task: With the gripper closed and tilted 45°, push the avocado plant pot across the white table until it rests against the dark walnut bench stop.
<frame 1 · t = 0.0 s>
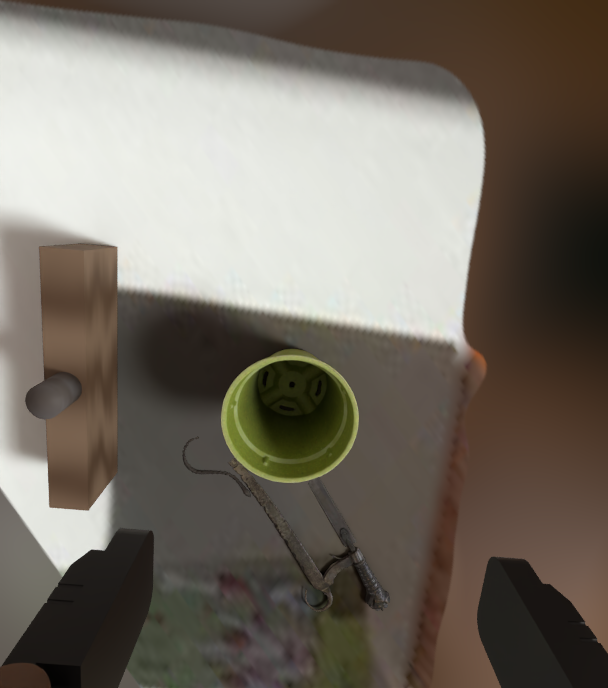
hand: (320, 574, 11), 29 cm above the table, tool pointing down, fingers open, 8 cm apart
bench stop: (99, 364, 40), on the table
plant pot: (292, 380, 41), on the table
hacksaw: (288, 523, 45), on the table
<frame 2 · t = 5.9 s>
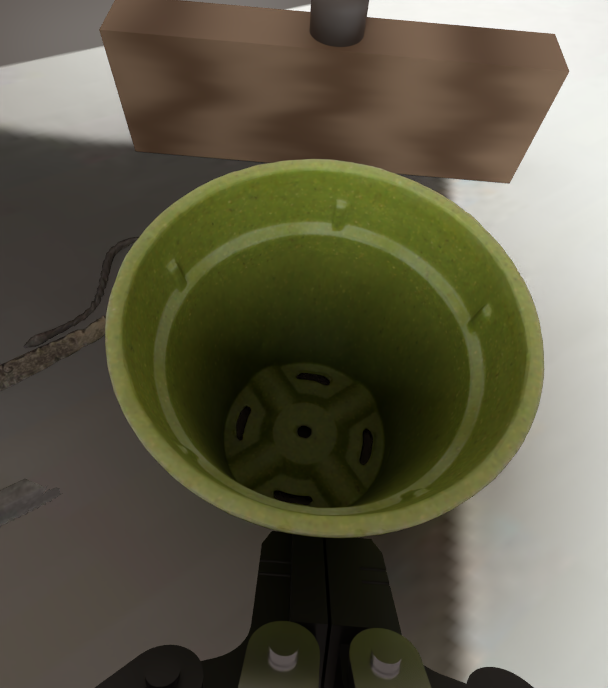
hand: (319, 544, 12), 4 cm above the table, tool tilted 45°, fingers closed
bench stop: (324, 148, 26), on the table
plant pot: (306, 438, 18), on the table, touching gripper
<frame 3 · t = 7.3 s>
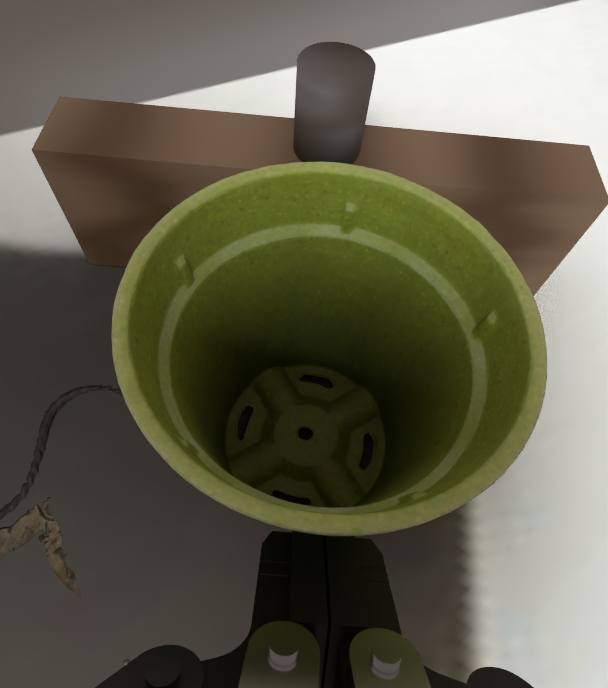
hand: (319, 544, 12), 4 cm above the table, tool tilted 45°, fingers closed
bench stop: (313, 257, 22), on the table
plant pot: (307, 441, 18), on the table, touching gripper
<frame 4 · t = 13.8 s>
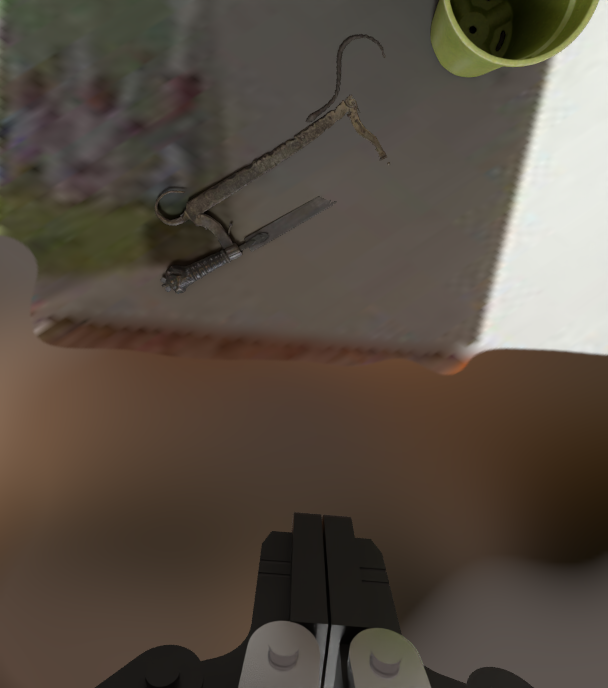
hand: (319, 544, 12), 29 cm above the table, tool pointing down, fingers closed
plant pot: (470, 34, 35), on the table
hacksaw: (266, 170, 38), on the table
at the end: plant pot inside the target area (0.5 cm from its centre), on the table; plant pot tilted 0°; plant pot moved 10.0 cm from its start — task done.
